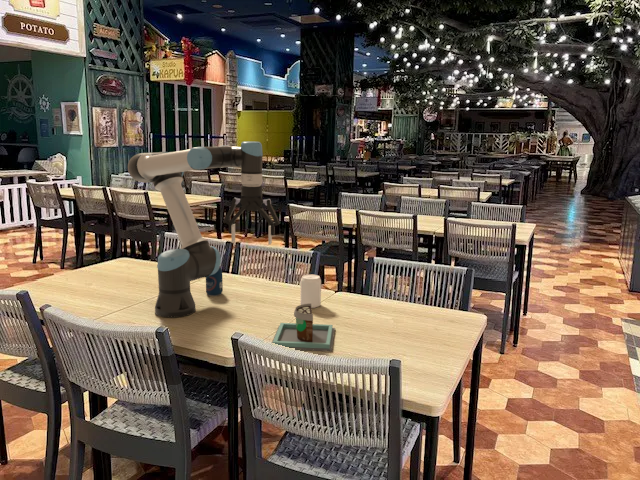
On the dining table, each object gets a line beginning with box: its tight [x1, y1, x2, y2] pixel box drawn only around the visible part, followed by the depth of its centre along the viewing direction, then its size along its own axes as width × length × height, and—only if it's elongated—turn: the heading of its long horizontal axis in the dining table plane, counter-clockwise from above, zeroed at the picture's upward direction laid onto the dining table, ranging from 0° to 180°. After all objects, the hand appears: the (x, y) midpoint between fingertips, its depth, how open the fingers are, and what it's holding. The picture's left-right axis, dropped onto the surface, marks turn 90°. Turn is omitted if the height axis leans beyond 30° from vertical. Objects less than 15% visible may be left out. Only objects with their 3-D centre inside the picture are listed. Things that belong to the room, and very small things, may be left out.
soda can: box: [205, 265, 224, 297], centre depth 240 cm, size 7×7×12 cm
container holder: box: [271, 322, 336, 352], centre depth 192 cm, size 20×20×2 cm
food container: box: [293, 304, 314, 342], centre depth 191 cm, size 12×6×10 cm, turn 3°
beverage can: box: [300, 273, 322, 309], centre depth 226 cm, size 8×8×12 cm
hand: (251, 243), depth 208 cm, fingers open, 13 cm apart
